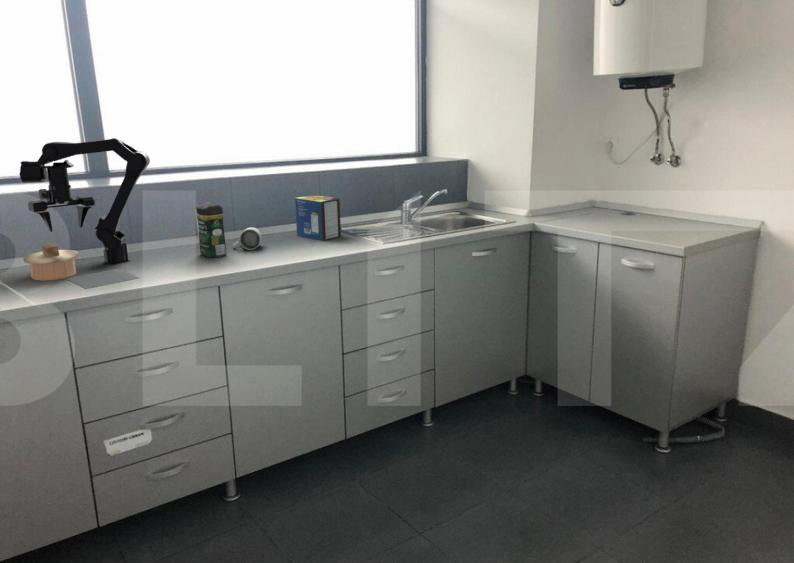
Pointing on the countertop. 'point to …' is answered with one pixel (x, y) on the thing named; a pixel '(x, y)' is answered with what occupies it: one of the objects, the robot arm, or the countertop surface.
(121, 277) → the mat
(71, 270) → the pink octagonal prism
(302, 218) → the protein box
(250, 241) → the ceramic mug
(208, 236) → the coffee jar
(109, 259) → the robot arm
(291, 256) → the countertop surface
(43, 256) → the lid
